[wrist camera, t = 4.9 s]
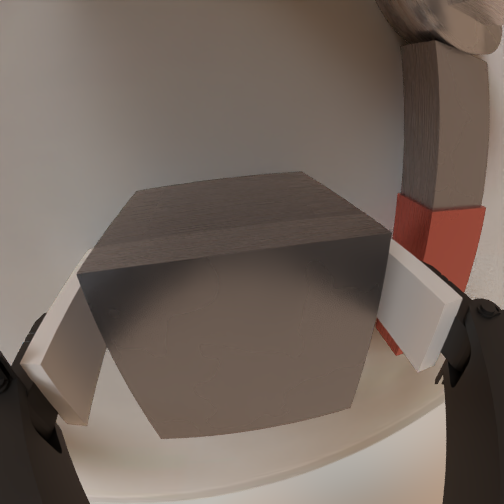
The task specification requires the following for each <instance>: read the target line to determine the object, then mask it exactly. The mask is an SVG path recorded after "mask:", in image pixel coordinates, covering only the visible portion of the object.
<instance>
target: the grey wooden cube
mask: <svg viewBox="0 0 504 504" xmlns="http://www.w3.org/2000/svg"><path fill="white" fill-rule="evenodd" d="M391 234H392V232H390V231H389V230H387V229H386V228H385V227H383V226H382V225H381V224H379V223H378V222H377V221H375V220H374V219H372V218H371V217H370V216H368V215H367V214H365V213H364V212H362V211H361V210H360V209H358V208H357V207H355V206H354V205H352V204H351V203H349V202H348V201H346V200H345V199H343V198H342V197H340V196H339V195H337V194H336V193H334V192H333V191H331V190H330V189H328V188H327V187H325V186H324V185H322V184H321V183H319V182H317V181H316V180H314V179H313V178H311V177H309V176H308V175H306V174H305V173H303V172H288V173H275V174H264V175H253V176H243V177H233V178H224V179H216V180H208V181H200V182H192V183H185V184H178V185H171V186H165V187H158V188H152V189H146V190H140V191H136V192H135V194H134V195H133V196H132V197H131V199H130V200H129V201H128V202H127V204H126V205H125V206H124V207H123V209H122V210H121V211H120V213H119V214H118V215H117V217H116V218H115V219H114V220H113V222H112V223H111V225H110V226H109V227H108V229H107V230H106V231H105V233H104V234H103V235H102V237H101V238H100V240H99V241H98V242H97V244H96V245H95V247H94V248H93V250H92V251H91V253H90V254H89V255H88V257H87V258H86V260H85V261H84V263H83V264H82V266H81V267H80V269H79V271H78V272H77V274H76V275H77V278H78V280H79V283H80V286H81V288H82V291H83V293H84V296H85V298H86V301H87V303H88V306H89V308H90V311H91V313H92V315H93V317H94V320H95V322H96V324H97V326H98V329H99V331H100V333H101V335H102V337H103V339H104V341H105V344H106V346H107V348H108V350H109V352H110V354H111V356H112V358H113V360H114V361H115V363H116V365H117V367H118V369H119V371H120V373H121V375H122V376H123V378H124V380H125V382H126V384H127V385H128V387H129V389H130V391H131V392H132V394H133V396H134V397H135V399H136V401H137V402H138V404H139V406H140V407H141V409H142V411H143V412H144V414H145V415H146V417H147V418H148V420H149V422H150V423H151V425H152V426H153V428H154V429H155V431H156V432H157V434H158V435H159V436H160V438H161V439H169V438H189V437H202V436H213V435H223V434H231V433H238V432H245V431H252V430H258V429H264V428H270V427H275V426H280V425H285V424H290V423H294V422H299V421H303V420H307V419H312V418H316V417H320V416H323V415H327V414H331V413H334V412H338V411H341V410H345V409H348V408H350V407H351V404H352V401H353V398H354V395H355V392H356V389H357V386H358V383H359V380H360V376H361V373H362V370H363V366H364V363H365V360H366V356H367V352H368V349H369V345H370V341H371V337H372V333H373V329H374V325H375V321H376V317H377V312H378V308H379V303H380V298H381V294H382V289H383V283H384V278H385V273H386V267H387V261H388V255H389V248H390V241H391Z"/></svg>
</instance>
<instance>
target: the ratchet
mask: <svg viewBox="0 0 504 504" xmlns="http://www.w3.org/2000/svg"><path fill="white" fill-rule="evenodd" d="M375 1H376V3H377V5H378V7H379V9H380V10H381V12H382V14H383V15H384V17H385V18H386V20H387V21H388V22H389V23H390V25H391V26H392V27H393V28H394V30H395V31H396V32H397V33H398V34H399V35H400V36H401V37H402V38H403V39H404V40H406V41H407V42H408V43H409V44H410V45H405V46H401V55H402V68H403V85H404V156H403V173H402V187H401V193H398V195H397V206H396V215H395V223H394V231H393V238H392V239H393V240H395V241H396V242H397V243H398V244H400V245H401V246H402V247H403V248H405V249H406V250H407V251H408V252H410V253H411V254H412V255H413V256H415V257H416V258H417V259H418V260H420V261H423V262H425V263H427V264H430V265H432V266H433V267H434V268H436V269H437V270H438V271H439V272H440V273H441V275H444V276H445V277H446V278H448V281H451V282H452V283H453V284H455V285H456V286H457V287H458V288H459V289H460V290H461V291H462V292H464V291H465V288H466V285H467V282H468V279H469V276H470V272H471V269H472V266H473V262H474V259H475V255H476V251H477V247H478V243H479V239H480V235H481V230H482V226H483V221H484V216H485V210H486V207H484V206H482V205H481V204H482V198H483V191H484V184H485V176H486V167H487V156H488V141H489V84H488V70H487V62H485V61H483V60H480V59H478V58H476V57H474V56H472V55H473V54H490V53H493V52H494V51H495V50H496V49H497V48H498V46H499V44H500V41H501V35H502V25H504V0H375ZM376 328H377V330H378V331H379V332H380V334H381V335H382V337H383V338H384V339H385V341H386V342H387V344H388V345H389V347H390V348H391V349H392V351H393V352H394V354H395V355H396V356H397V355H400V354H403V352H402V350H401V349H400V347H399V346H398V345H397V343H396V342H395V341H394V339H393V338H392V337H391V335H390V334H389V333H388V331H387V330H386V329H385V327H384V326H383V325H382V323H381V322H380V321H379V319H378V318H377V323H376Z"/></svg>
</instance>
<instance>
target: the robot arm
mask: <svg viewBox="0 0 504 504" xmlns="http://www.w3.org/2000/svg"><path fill="white" fill-rule="evenodd" d="M92 250H93V249H88V251H87V252H86V254H85V255H84V257H83V258H82V259H81V261H80V262H79V264H78V265H77V267H76V268H75V270H74V271H73V273H72V274H71V276H70V277H69V279H68V280H67V282H66V283H65V285H64V286H63V288H62V289H61V291H60V293H59V294H58V296H57V297H56V299H55V301H54V302H53V304H52V305H51V307H50V309H49V310H48V312H47V313H44V314H43V315H42V316H41V317H40V318H39V319H38V320H37V321H36V322H35V323H34V325H33V327H32V328H31V330H30V332H29V333H30V334H28V335H27V337H26V339H25V342H24V343H23V344H22V346H21V348H20V350H19V352H18V354H17V356H16V358H15V360H14V362H13V364H12V366H10V365H9V363H8V362H7V360H6V359H5V357H4V356H3V354H2V353H1V351H0V504H90V503H89V501H88V499H87V496H86V494H85V492H84V490H83V488H82V485H81V483H80V481H79V478H78V476H77V473H76V471H75V468H74V466H73V463H72V460H71V458H70V455H69V452H68V449H67V446H66V443H65V440H64V437H63V434H62V431H61V429H60V427H59V426H58V425H57V423H56V419H57V415H58V414H59V415H60V416H61V418H62V419H63V420H64V421H65V422H66V423H67V424H72V425H83V426H87V424H88V419H89V414H90V410H91V405H92V401H93V397H94V393H95V388H96V384H97V381H98V377H99V373H100V369H101V365H102V362H103V358H104V355H105V351H106V348H107V346H106V344H105V341H104V339H103V337H102V335H101V333H100V331H99V329H98V326H97V324H96V322H95V320H94V317H93V315H92V313H91V311H90V308H89V306H88V303H87V301H86V298H85V296H84V293H83V291H82V288H81V286H80V283H79V280H78V278H77V275H76V274H77V272H78V271H79V269H80V267H81V266H82V264H83V263H84V261H85V260H86V258H87V257H88V255H89V254H90V253H91V251H92ZM377 318H378V319H379V321H380V322H381V323H382V325H383V326H384V327H385V329H386V330H387V331H388V333H389V334H390V335H391V337H392V338H393V339H394V341H395V342H396V343H397V345H398V346H399V347H400V349H401V350H402V352H403V353H404V354H405V356H406V357H407V359H408V360H409V361H410V363H411V364H412V366H413V367H414V368H415V370H416V371H417V373H418V372H420V371H423V370H425V369H427V368H430V367H432V366H434V365H435V363H436V361H437V359H438V357H439V355H440V353H442V354H443V355H444V357H445V358H446V360H445V362H444V364H443V366H442V367H441V369H440V371H439V373H438V375H437V377H436V379H435V384H438V382H439V380H440V379H441V377H442V375H443V379H444V380H443V382H442V384H444V390H445V404H446V437H447V440H446V441H447V443H446V472H445V486H444V496H443V504H504V310H501V309H500V308H499V307H498V306H497V305H496V304H495V303H493V302H491V301H489V300H486V299H482V298H481V299H474V300H471V299H470V298H469V297H468V296H467V295H466V294H465V293H464V292H462V291H461V290H460V289H459V288H458V287H457V286H456V285H455V284H453V283H452V282H451V281H448V278H446V277H445V276H444V275H441V273H440V272H439V271H438V270H437V269H436V268H434V267H433V266H432V265H430V264H427V263H425V262H423V261H420V260H418V259H417V258H416V257H415V256H413V255H412V254H411V253H410V252H408V251H407V250H406V249H405V248H403V247H402V246H401V245H400V244H398V243H397V242H396V241H395V240H393V239H392V238H391V241H390V248H389V255H388V261H387V267H386V273H385V278H384V283H383V289H382V294H381V298H380V303H379V308H378V312H377Z"/></svg>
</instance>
